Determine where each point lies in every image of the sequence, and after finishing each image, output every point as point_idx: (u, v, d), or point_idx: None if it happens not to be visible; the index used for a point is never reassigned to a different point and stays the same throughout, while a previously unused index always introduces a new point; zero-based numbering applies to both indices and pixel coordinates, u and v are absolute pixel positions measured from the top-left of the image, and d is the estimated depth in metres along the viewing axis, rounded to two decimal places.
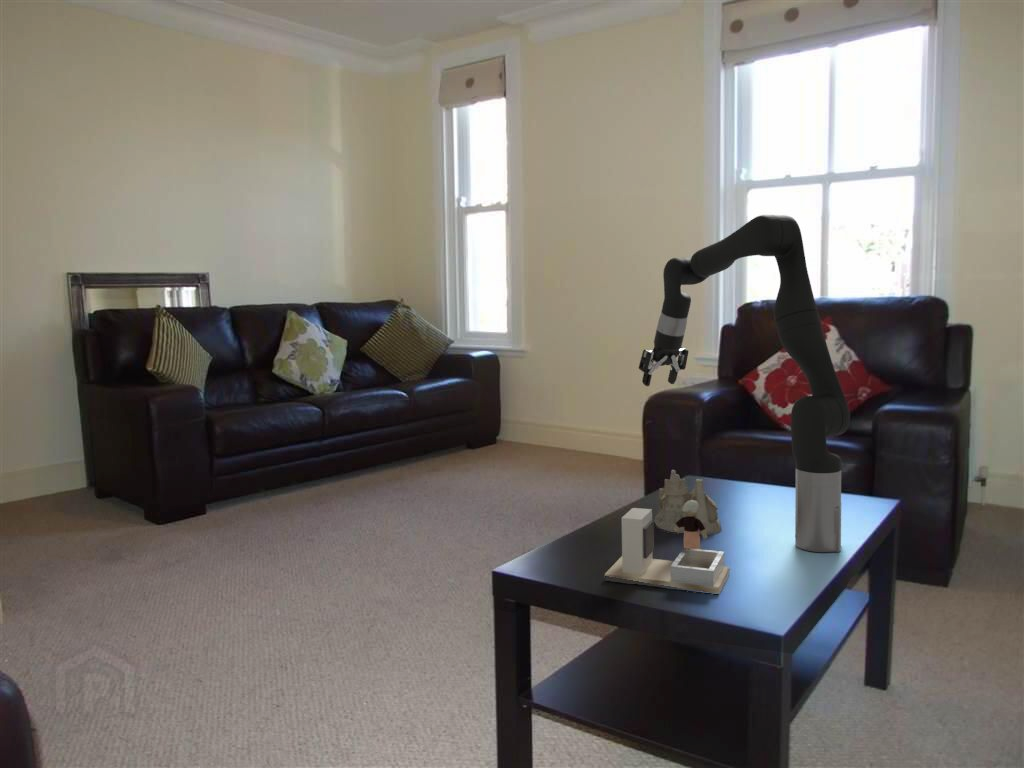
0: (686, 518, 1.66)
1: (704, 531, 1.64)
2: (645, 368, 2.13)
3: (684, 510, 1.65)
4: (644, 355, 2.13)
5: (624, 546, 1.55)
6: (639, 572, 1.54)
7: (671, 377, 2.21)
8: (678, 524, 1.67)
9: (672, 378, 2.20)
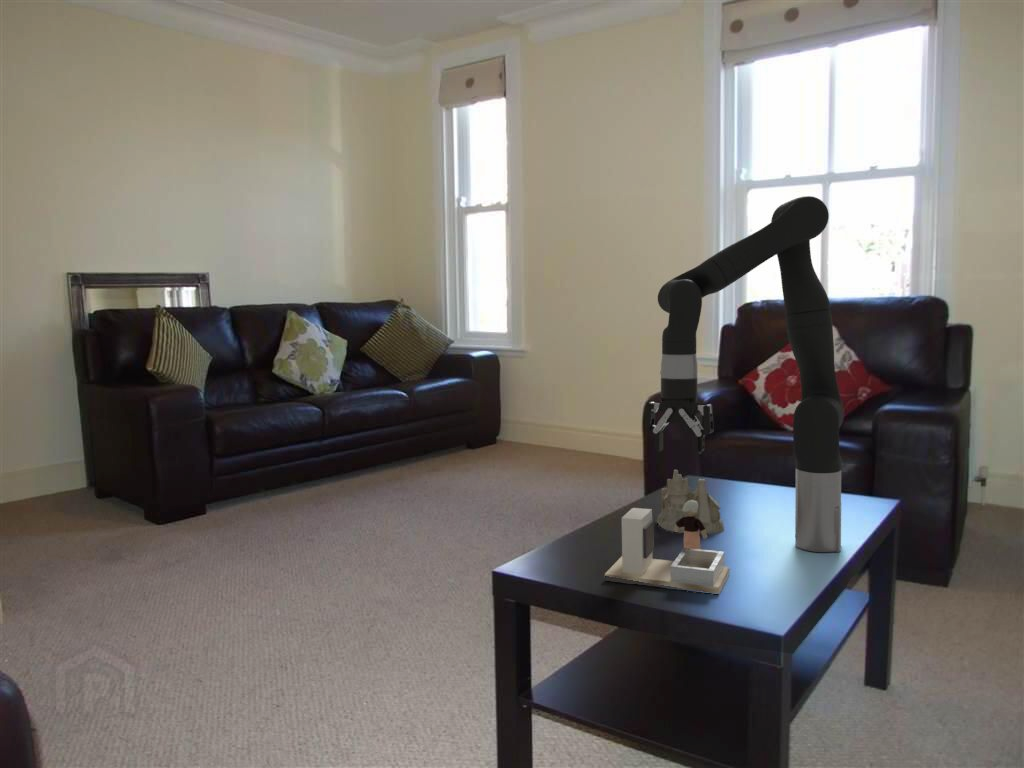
0: (686, 518, 1.66)
1: (704, 531, 1.64)
2: None
3: (684, 510, 1.65)
4: (710, 411, 1.62)
5: (624, 546, 1.55)
6: (639, 572, 1.54)
7: (661, 441, 1.69)
8: (678, 524, 1.67)
9: (662, 442, 1.69)
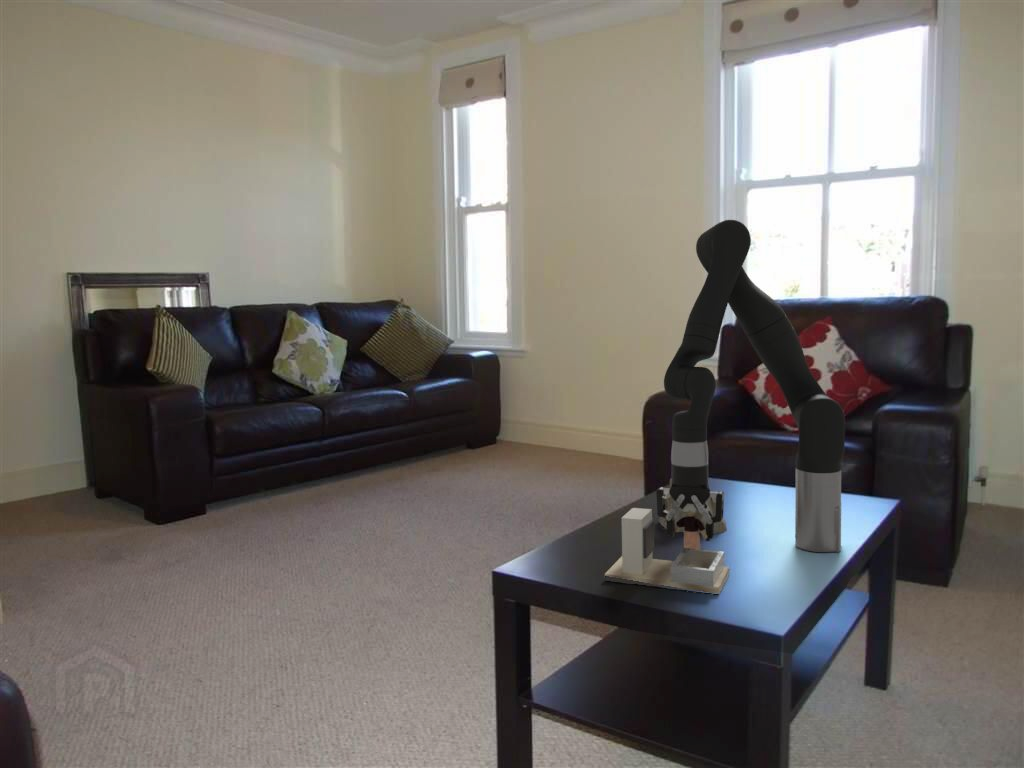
0: (686, 518, 1.66)
1: (704, 531, 1.63)
2: None
3: (684, 510, 1.65)
4: (722, 499, 1.63)
5: (624, 546, 1.55)
6: (639, 572, 1.54)
7: (674, 528, 1.68)
8: (678, 524, 1.67)
9: (674, 528, 1.68)
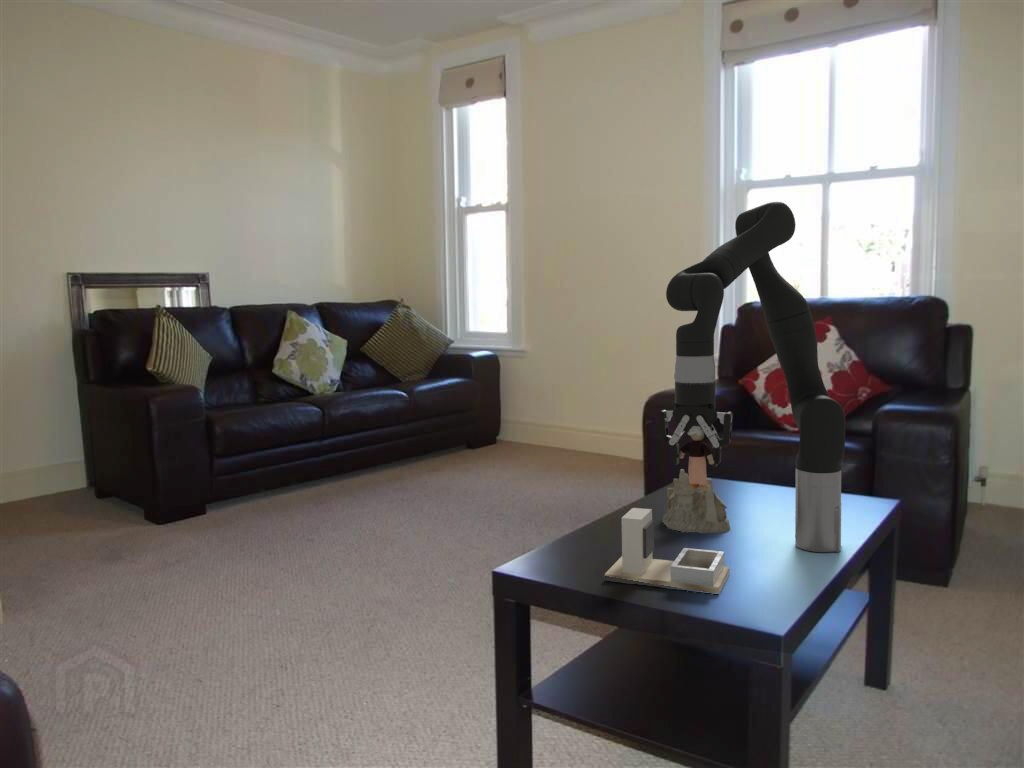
0: (691, 442, 1.51)
1: (711, 456, 1.48)
2: None
3: (689, 433, 1.50)
4: (731, 420, 1.48)
5: (624, 546, 1.55)
6: (639, 572, 1.54)
7: (678, 454, 1.53)
8: (683, 450, 1.52)
9: (678, 454, 1.54)
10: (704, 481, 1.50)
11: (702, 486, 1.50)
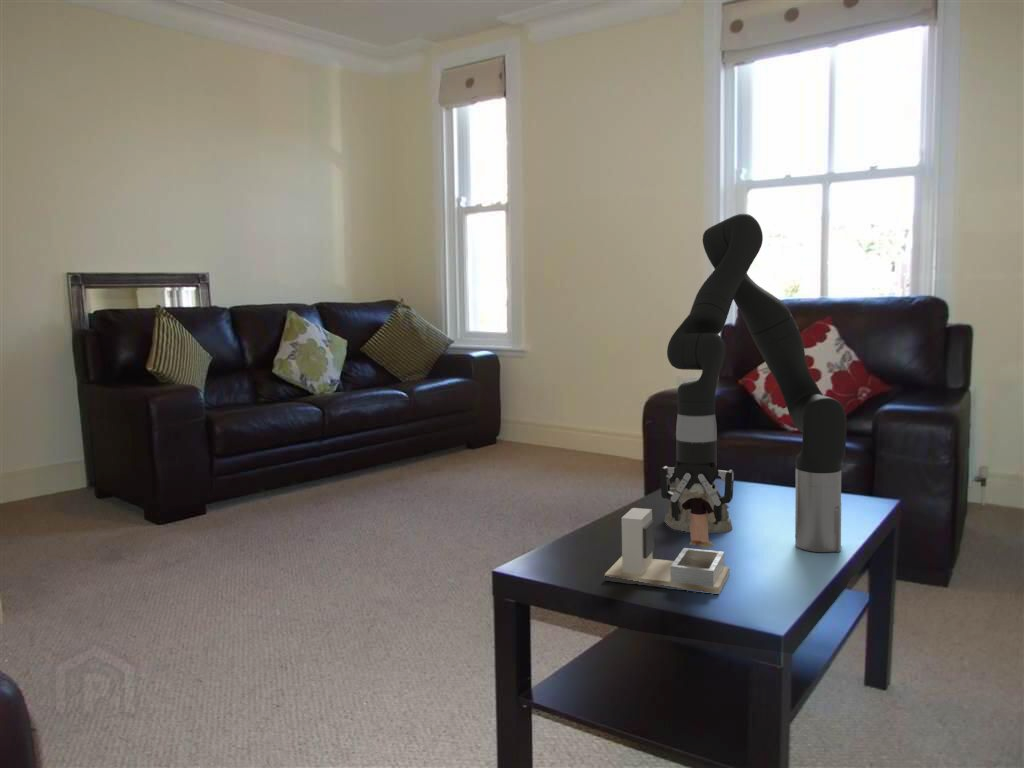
0: (693, 500, 1.52)
1: (712, 514, 1.49)
2: None
3: (691, 491, 1.51)
4: (732, 478, 1.49)
5: (624, 546, 1.55)
6: (639, 572, 1.54)
7: (679, 510, 1.54)
8: (684, 506, 1.53)
9: (680, 510, 1.54)
10: (706, 538, 1.51)
11: (704, 543, 1.51)
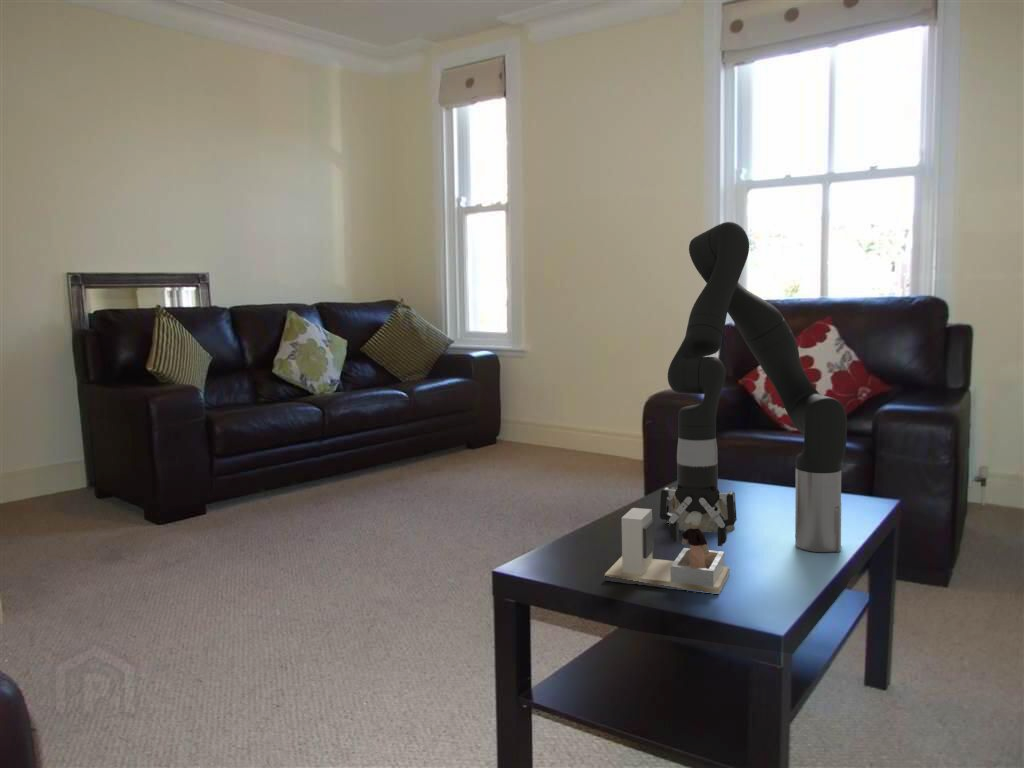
0: (689, 530, 1.52)
1: (705, 546, 1.49)
2: None
3: (685, 521, 1.51)
4: (734, 500, 1.49)
5: (624, 546, 1.55)
6: (639, 572, 1.54)
7: (677, 531, 1.54)
8: (684, 536, 1.54)
9: (678, 531, 1.55)
10: None
11: None
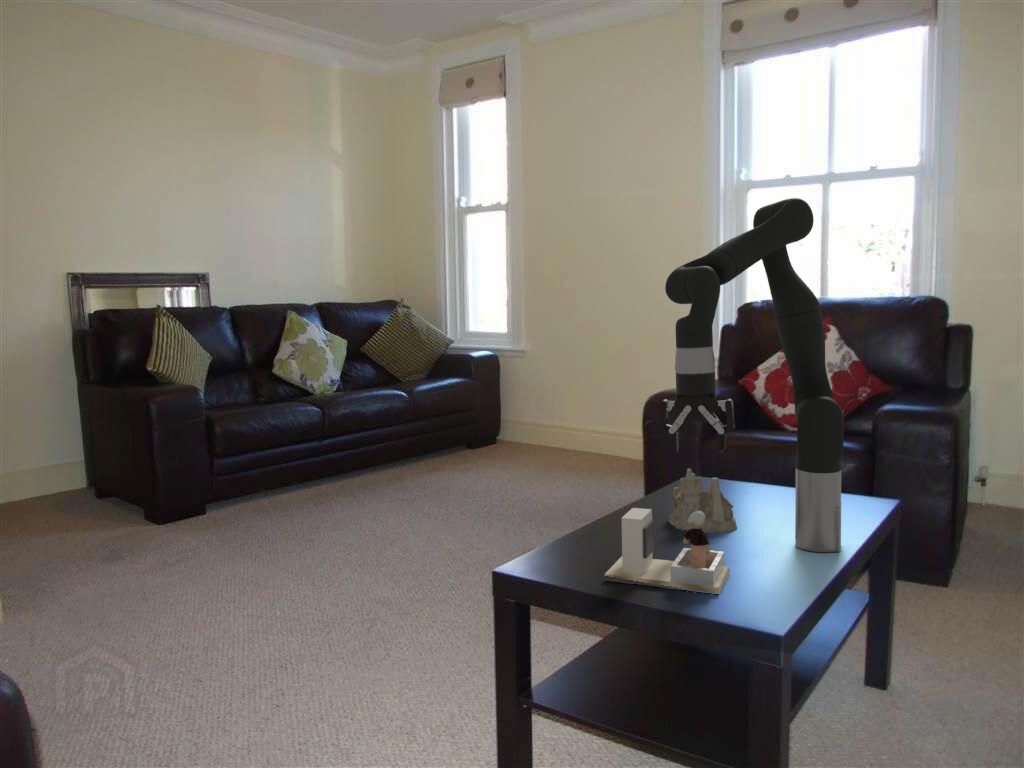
0: (692, 530, 1.52)
1: (707, 546, 1.49)
2: None
3: (688, 521, 1.51)
4: (732, 406, 1.52)
5: (624, 546, 1.55)
6: (639, 572, 1.54)
7: (677, 442, 1.57)
8: (685, 536, 1.54)
9: (678, 442, 1.57)
10: None
11: None
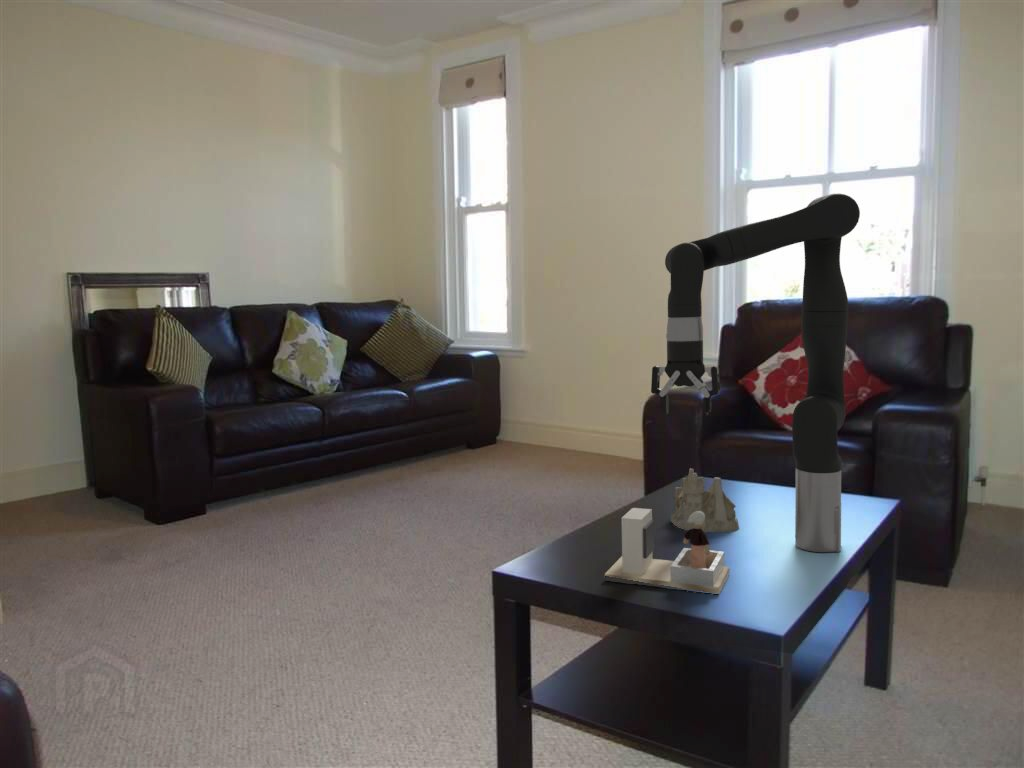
0: (692, 530, 1.52)
1: (707, 546, 1.49)
2: None
3: (688, 521, 1.51)
4: (717, 372, 1.65)
5: (624, 546, 1.55)
6: (639, 572, 1.54)
7: (667, 404, 1.71)
8: (685, 536, 1.54)
9: (668, 405, 1.71)
10: None
11: None
